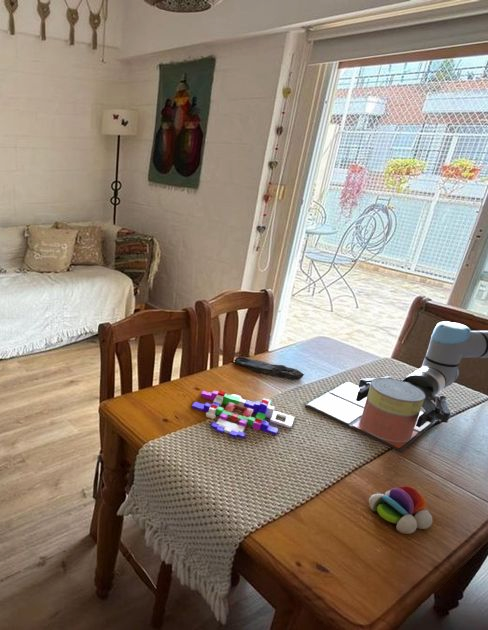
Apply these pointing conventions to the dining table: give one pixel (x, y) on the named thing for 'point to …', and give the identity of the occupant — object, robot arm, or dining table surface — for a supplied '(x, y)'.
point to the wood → (268, 368)
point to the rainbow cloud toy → (402, 509)
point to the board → (356, 413)
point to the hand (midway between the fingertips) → (387, 408)
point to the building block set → (245, 419)
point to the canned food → (392, 409)
